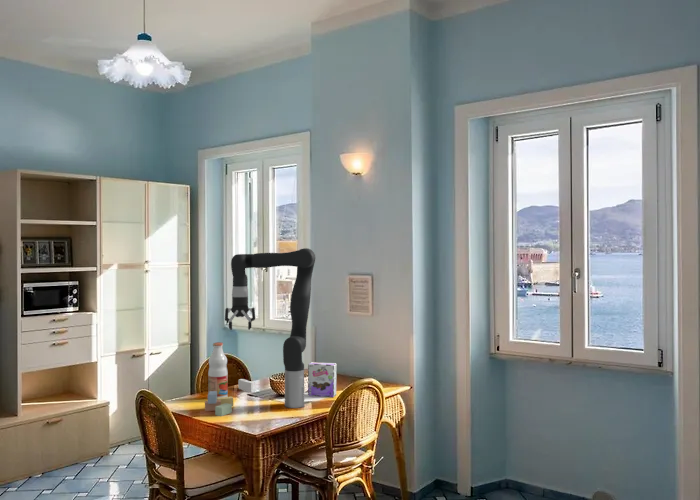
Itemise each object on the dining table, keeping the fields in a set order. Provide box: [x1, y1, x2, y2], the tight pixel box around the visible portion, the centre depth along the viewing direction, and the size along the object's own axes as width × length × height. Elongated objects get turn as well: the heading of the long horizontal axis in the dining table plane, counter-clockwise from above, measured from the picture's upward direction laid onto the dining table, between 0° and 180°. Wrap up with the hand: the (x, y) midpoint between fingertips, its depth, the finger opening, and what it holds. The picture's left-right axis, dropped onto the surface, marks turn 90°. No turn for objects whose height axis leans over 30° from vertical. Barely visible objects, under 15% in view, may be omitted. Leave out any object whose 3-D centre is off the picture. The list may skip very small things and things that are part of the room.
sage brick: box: [214, 403, 233, 417], centre depth 280 cm, size 7×4×4 cm, turn 153°
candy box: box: [307, 361, 338, 398], centre depth 315 cm, size 14×6×16 cm, turn 76°
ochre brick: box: [217, 396, 234, 407], centre depth 294 cm, size 7×4×4 cm, turn 111°
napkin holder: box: [237, 378, 256, 393], centre depth 328 cm, size 15×11×6 cm
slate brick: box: [207, 391, 217, 404], centre depth 287 cm, size 7×4×4 cm, turn 7°
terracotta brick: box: [204, 400, 221, 412], centre depth 288 cm, size 7×4×4 cm, turn 104°
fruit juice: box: [207, 341, 229, 398], centre depth 307 cm, size 9×9×28 cm
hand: (240, 329), depth 296 cm, fingers open, 8 cm apart
